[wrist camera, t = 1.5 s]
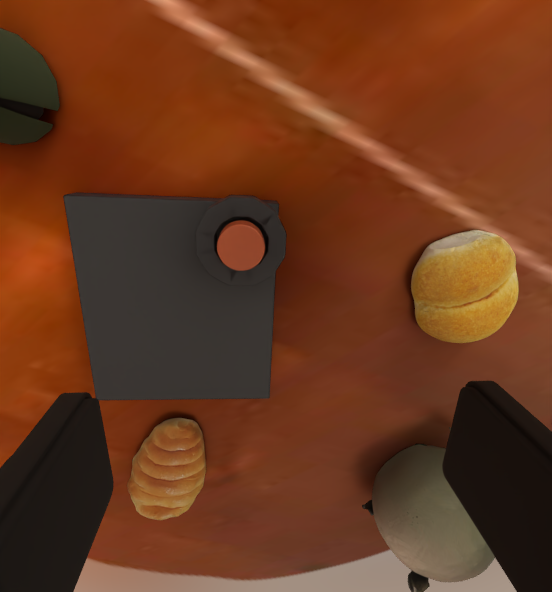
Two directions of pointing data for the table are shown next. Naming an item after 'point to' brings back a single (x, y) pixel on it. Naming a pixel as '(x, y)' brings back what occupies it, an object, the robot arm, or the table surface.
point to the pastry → (168, 469)
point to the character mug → (24, 91)
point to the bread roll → (465, 286)
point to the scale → (173, 295)
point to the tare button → (241, 245)
